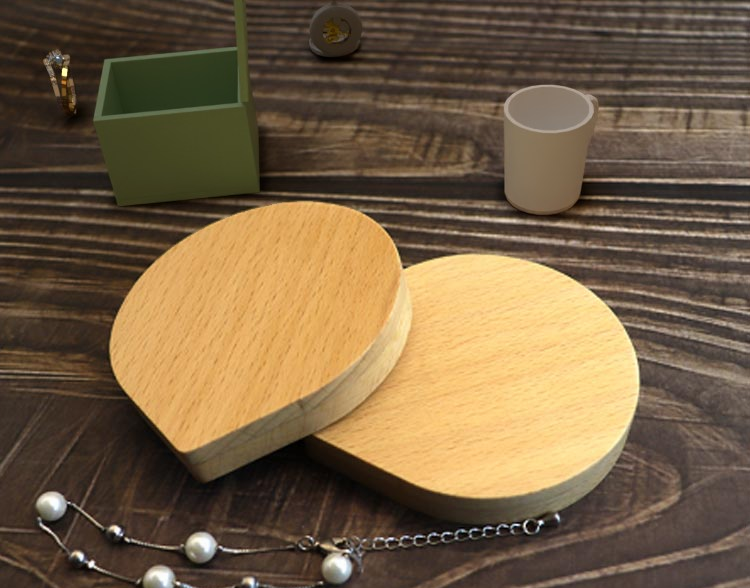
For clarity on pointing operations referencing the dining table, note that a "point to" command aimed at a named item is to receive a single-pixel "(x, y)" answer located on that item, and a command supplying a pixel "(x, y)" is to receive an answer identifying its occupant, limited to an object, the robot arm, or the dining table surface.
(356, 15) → the pocket watch
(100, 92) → the chest
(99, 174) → the dining table surface
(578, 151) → the mug
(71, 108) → the ring
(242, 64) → the lid
